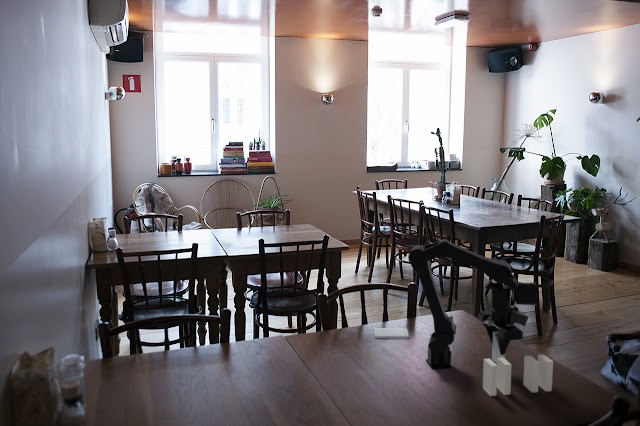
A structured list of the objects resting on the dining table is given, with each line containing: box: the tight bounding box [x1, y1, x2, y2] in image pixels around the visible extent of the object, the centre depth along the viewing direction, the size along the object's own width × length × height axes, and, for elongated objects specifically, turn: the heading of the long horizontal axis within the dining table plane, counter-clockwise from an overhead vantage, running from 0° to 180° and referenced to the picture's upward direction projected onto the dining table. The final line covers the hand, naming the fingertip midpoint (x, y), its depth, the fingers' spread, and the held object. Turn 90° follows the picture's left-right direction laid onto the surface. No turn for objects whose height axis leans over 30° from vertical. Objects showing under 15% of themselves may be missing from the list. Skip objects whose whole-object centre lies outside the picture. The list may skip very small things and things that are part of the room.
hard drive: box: [373, 327, 410, 340], centre depth 205 cm, size 2×8×12 cm
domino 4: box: [522, 355, 539, 393], centre depth 161 cm, size 2×5×9 cm, turn 8°
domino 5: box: [537, 354, 554, 392], centre depth 162 cm, size 2×5×9 cm, turn 8°
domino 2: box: [491, 331, 506, 364], centre depth 172 cm, size 2×5×9 cm, turn 8°
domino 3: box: [496, 357, 512, 396], centre depth 160 cm, size 2×5×9 cm, turn 8°
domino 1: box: [482, 358, 498, 397], centre depth 159 cm, size 2×5×9 cm, turn 8°
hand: (498, 351), depth 172 cm, fingers closed on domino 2, 5 cm apart
